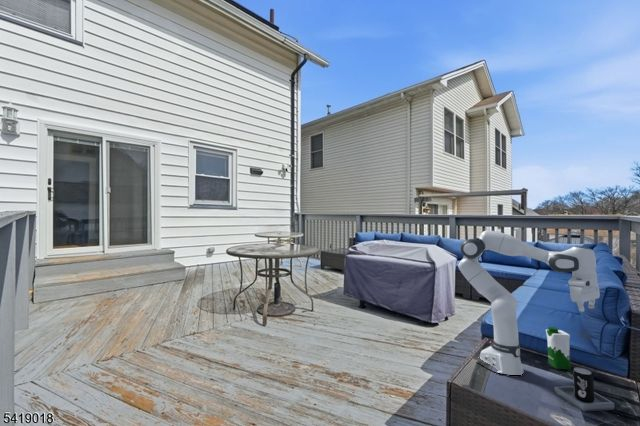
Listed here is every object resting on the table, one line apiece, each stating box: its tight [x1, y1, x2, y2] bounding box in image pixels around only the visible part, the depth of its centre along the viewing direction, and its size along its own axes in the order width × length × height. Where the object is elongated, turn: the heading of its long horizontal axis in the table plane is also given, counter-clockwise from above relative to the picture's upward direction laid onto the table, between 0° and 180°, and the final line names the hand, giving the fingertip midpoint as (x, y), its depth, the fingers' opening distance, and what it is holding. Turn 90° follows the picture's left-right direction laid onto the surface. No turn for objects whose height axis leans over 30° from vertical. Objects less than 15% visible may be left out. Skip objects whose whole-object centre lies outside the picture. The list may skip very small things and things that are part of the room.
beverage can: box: [572, 367, 595, 403], centre depth 128 cm, size 7×7×12 cm
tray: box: [554, 385, 616, 412], centre depth 128 cm, size 14×14×3 cm
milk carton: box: [545, 326, 572, 370], centre depth 160 cm, size 9×9×20 cm
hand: (586, 309), depth 141 cm, fingers open, 8 cm apart
